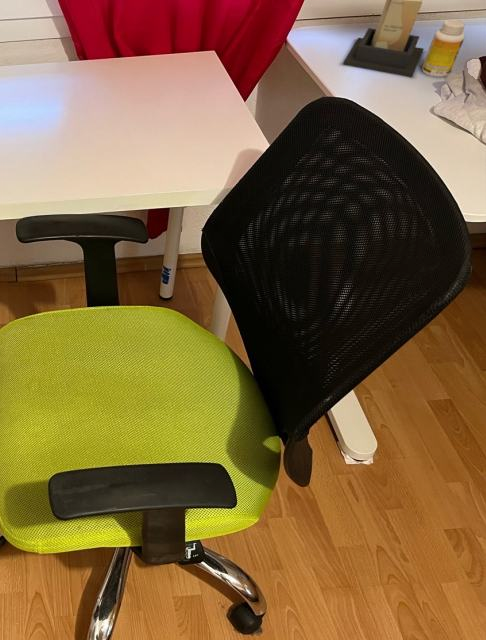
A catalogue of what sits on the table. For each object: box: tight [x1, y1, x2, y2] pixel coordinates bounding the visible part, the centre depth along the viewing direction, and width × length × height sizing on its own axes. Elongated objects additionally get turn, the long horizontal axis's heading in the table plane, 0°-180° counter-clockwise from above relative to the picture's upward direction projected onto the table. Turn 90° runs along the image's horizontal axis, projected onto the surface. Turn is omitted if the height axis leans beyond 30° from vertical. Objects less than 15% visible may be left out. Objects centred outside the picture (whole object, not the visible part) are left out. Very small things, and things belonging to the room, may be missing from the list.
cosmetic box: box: [371, 0, 423, 52], centre depth 145 cm, size 6×4×12 cm
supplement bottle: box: [421, 18, 466, 78], centre depth 142 cm, size 6×6×10 cm
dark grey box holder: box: [343, 27, 425, 78], centre depth 149 cm, size 14×14×4 cm
